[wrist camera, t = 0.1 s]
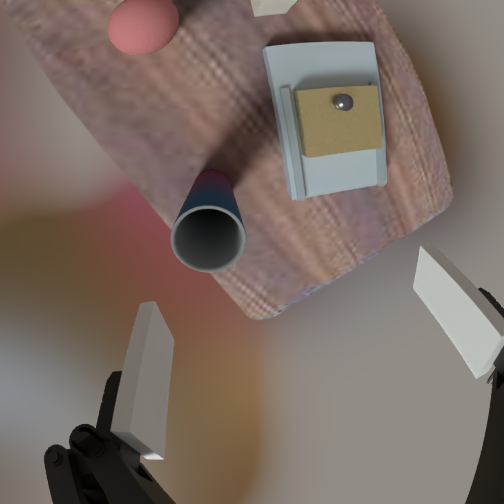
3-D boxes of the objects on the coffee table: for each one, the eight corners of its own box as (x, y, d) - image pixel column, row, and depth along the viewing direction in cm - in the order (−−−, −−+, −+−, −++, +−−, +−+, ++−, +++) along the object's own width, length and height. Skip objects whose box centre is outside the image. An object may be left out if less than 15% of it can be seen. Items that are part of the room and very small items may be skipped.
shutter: (291, 91, 30) (299, 90, 27) (367, 85, 30) (381, 85, 27) (302, 153, 34) (310, 160, 31) (373, 143, 34) (387, 150, 31)
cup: (245, 197, 40) (258, 254, 27) (202, 218, 41) (194, 282, 28) (223, 154, 37) (224, 191, 24) (178, 178, 38) (156, 226, 25)
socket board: (262, 50, 30) (266, 45, 27) (363, 44, 30) (375, 41, 27) (287, 192, 40) (293, 201, 37) (377, 177, 40) (388, 184, 37)
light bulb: (192, 14, 26) (180, -18, 16) (182, 63, 30) (164, 50, 20) (138, 13, 25) (106, -14, 15) (128, 62, 29) (90, 52, 18)
